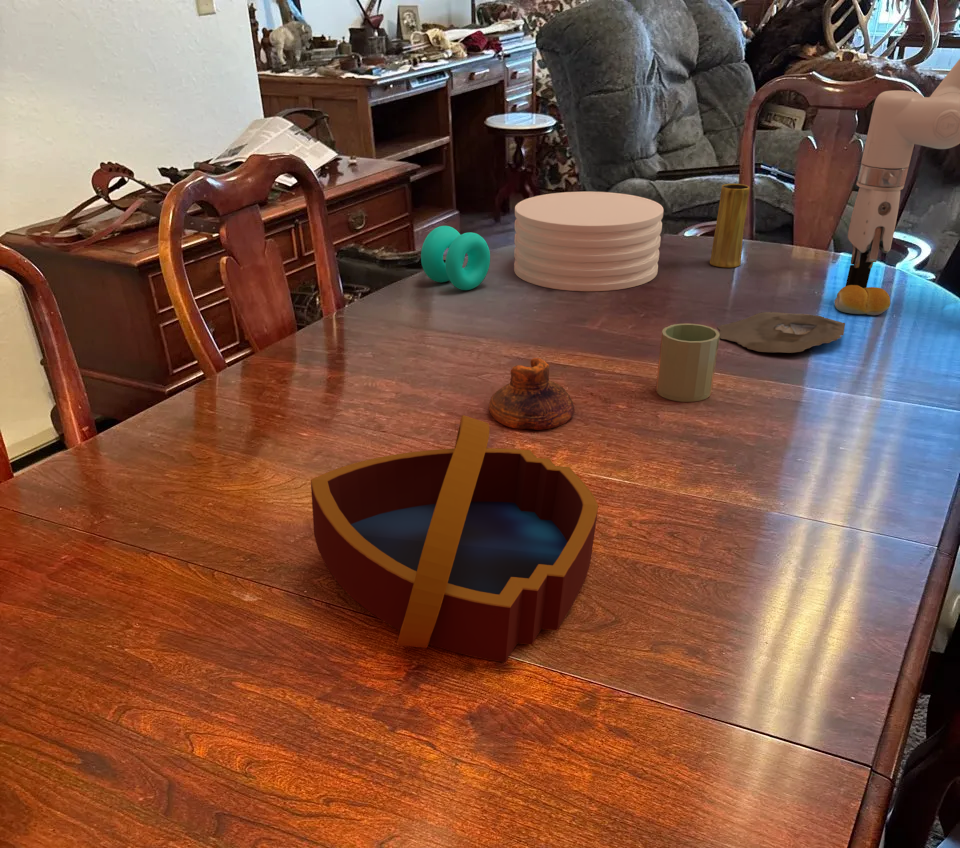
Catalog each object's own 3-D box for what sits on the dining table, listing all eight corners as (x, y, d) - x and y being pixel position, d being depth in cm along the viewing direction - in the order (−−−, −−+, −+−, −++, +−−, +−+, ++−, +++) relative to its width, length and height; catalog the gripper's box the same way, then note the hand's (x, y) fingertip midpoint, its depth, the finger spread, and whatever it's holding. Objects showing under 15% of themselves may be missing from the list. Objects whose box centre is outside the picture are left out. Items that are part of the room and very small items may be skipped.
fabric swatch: (699, 338, 159) (699, 329, 158) (799, 307, 166) (800, 298, 165) (777, 368, 145) (778, 358, 144) (883, 333, 153) (884, 323, 152)
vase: (733, 270, 186) (745, 191, 178) (704, 265, 189) (714, 187, 181) (745, 262, 190) (756, 185, 182) (716, 258, 193) (726, 181, 185)
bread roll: (892, 317, 162) (898, 293, 160) (838, 315, 164) (843, 291, 161) (882, 302, 169) (888, 279, 167) (830, 300, 170) (835, 277, 168)
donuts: (458, 274, 185) (457, 220, 179) (493, 285, 179) (493, 229, 173) (418, 285, 180) (416, 229, 174) (453, 296, 174) (452, 239, 168)
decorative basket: (564, 702, 85) (601, 561, 76) (252, 632, 87) (252, 486, 78) (593, 522, 112) (623, 403, 103) (355, 471, 114) (363, 349, 105)
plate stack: (486, 276, 184) (486, 212, 178) (560, 244, 203) (563, 185, 196) (614, 300, 171) (619, 233, 165) (681, 264, 190) (688, 202, 183)
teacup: (706, 381, 140) (714, 323, 135) (715, 402, 134) (724, 342, 129) (653, 381, 140) (658, 323, 135) (659, 402, 134) (666, 342, 129)
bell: (512, 438, 125) (513, 384, 121) (475, 405, 134) (474, 354, 129) (590, 422, 129) (593, 370, 124) (549, 391, 137) (551, 341, 133)
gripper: (919, 186, 152) (889, 303, 163) (890, 168, 164) (864, 277, 175) (872, 186, 152) (845, 302, 163) (846, 167, 164) (823, 277, 175)
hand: (855, 289), depth 169 cm, fingers closed
